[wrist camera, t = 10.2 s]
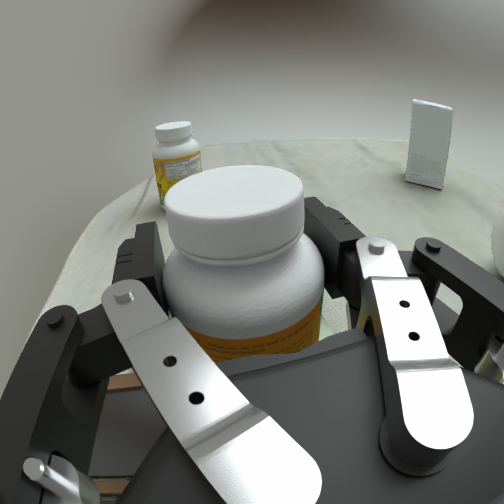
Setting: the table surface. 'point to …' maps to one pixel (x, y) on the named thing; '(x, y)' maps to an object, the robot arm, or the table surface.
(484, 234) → the table surface
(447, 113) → the skincare box
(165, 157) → the supplement bottle
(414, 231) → the table surface
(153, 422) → the lane board
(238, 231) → the supplement bottle
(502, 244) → the flower vase
